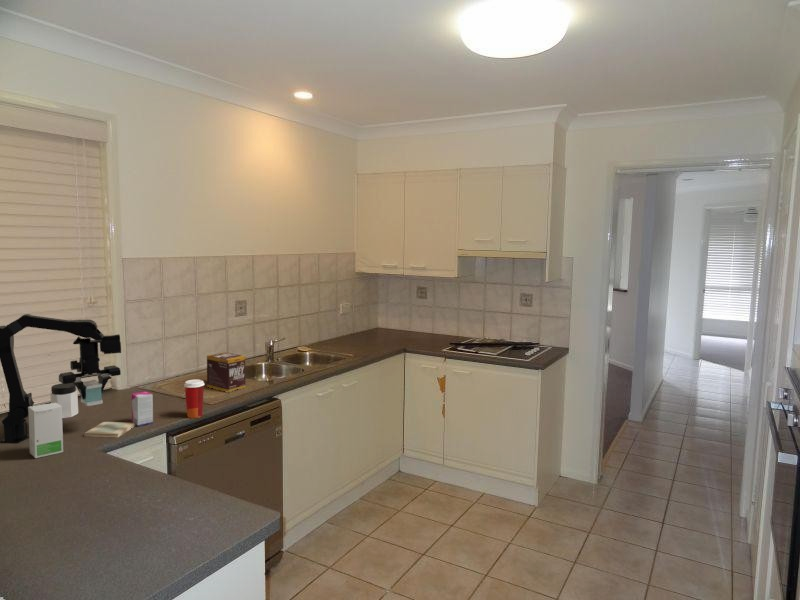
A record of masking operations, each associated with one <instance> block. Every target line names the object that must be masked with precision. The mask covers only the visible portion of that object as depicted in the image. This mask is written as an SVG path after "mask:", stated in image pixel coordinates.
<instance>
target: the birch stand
mask: <svg viewBox="0 0 800 600" xmlns="http://www.w3.org/2000/svg"><path fill="white" fill-rule="evenodd" d="M135 427H136V423H132V422H124V421H121V422H119V421H103V422H100V423H99V424H97V425H96V426H94V427H92V428H91V429H89V430H87V431H85V432H84V434H83V437H92V438H93V437H94V438H95V437H96V438H101V437H102V438H119V437H121V436H122V435H124V434H125V433H127V432H129V431H130V430H131V428H132V429H133V428H135Z"/></svg>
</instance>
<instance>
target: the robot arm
mask: <svg viewBox="0 0 800 600" xmlns="http://www.w3.org/2000/svg"><path fill="white" fill-rule="evenodd" d="M26 328H35V329H43V330H51V331H56V332H57V331H58V332H65V333H69V334H72V335H74V336H77V338H76V339H75V340H74V341H73V343H72V344H73V345H79V361H78V360H77V359H76V360H71V361H70V363H69V364H70V370H71V371H69V372H61V373H60V374H58V382H60V384H61V383H63V384H68V383H72V384H74V385H76V390H77V392H79V395H80V397H82V399H84V397H85V394H84V384H83V382H84V381H83V380H82V379H85V378H90V377H92V378H93V377H97V379H98V380H97V381H98V382H100V383H101V384H102V387H101V394H103V392H104V389H105V387H106V385H107V384H108V381H109V380H111V379H112V377H115V376H116V377H117V376H120V375H121V374H122V373H121V368H120V367H119V366H117V365H109V366H104V367H103V369H100V361H101V360H100V357H99V350H100V352H101V353H103V354H104V355H111V354H121V353H122V341H121V336H120V335H121V334H119V333H118V334H114V335H113V334H112V335H111V334H110V335H104V334H103V332H101V331H100V330H99V329H98V325H97V323H96V322H95V321H94V320H92V319H73V320H72V319H61V318H55V317H54V318H53V317H46V316H40V315H32V314H30V313H26V314H22V315H21V316H20V317H19V318H17V319H15V320H14V321H12V322H10V323H9V324H7V325H0V365H1V368H2V371H3V376H4V378H5V379H4V380H5V382H6V387H7V390H8V394H9V397H8V398H9V399H8V400H9V401H8V412H7V413H6V415H5V416H4V417H3V419H2V421H1V424H2V425H3V434H4V436H3V437H4V438H2V439H1V440H0V443H14V444H15V443H16V444H17V443H21V442H22V441H25V440H27V439H29V434H28V425H27V419H26V418H28V417H29V413H28V407H30V406H34V404H35V402H34V401H33V396H32V394H33V393H32V392H29V393H27V392H26V390H25V389H24V386H23V382H22V378H21V375H20V371H19V367H18V363H17V360H16V355H15V353H14V348H15V347H14V346H15V335H16V334H18V333H20V332H21V331H23V330H24V329H26ZM72 371H76V372H77V373H74V372H72Z"/></svg>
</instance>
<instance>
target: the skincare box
mask: <svg viewBox="0 0 800 600" xmlns="http://www.w3.org/2000/svg"><path fill="white" fill-rule="evenodd" d="M28 413H29V415H28V435H29V438H28V439H29V440H28V442H29V454H30V455H31V456H32V457H33V458H35V459H38V458H43V457H47V456H52V455H57V454H60V453H61V454H62V453H64V432H63V418H62V406H61V405H59V404H57V403H51V402H50V403H43V404H37V405H33V406H30V407H28Z"/></svg>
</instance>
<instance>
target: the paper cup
mask: <svg viewBox="0 0 800 600" xmlns="http://www.w3.org/2000/svg"><path fill="white" fill-rule="evenodd" d="M205 385H206V384H205V382H204V380H202V379H189V380H185V382H184V384H183V387H184V392H185V395H184V396H185V405H186V415H187V418H188V419H199V418H202V417H203V414H204V409H203V408H204V392H205V391H204V388H205V387H204V386H205Z"/></svg>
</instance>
